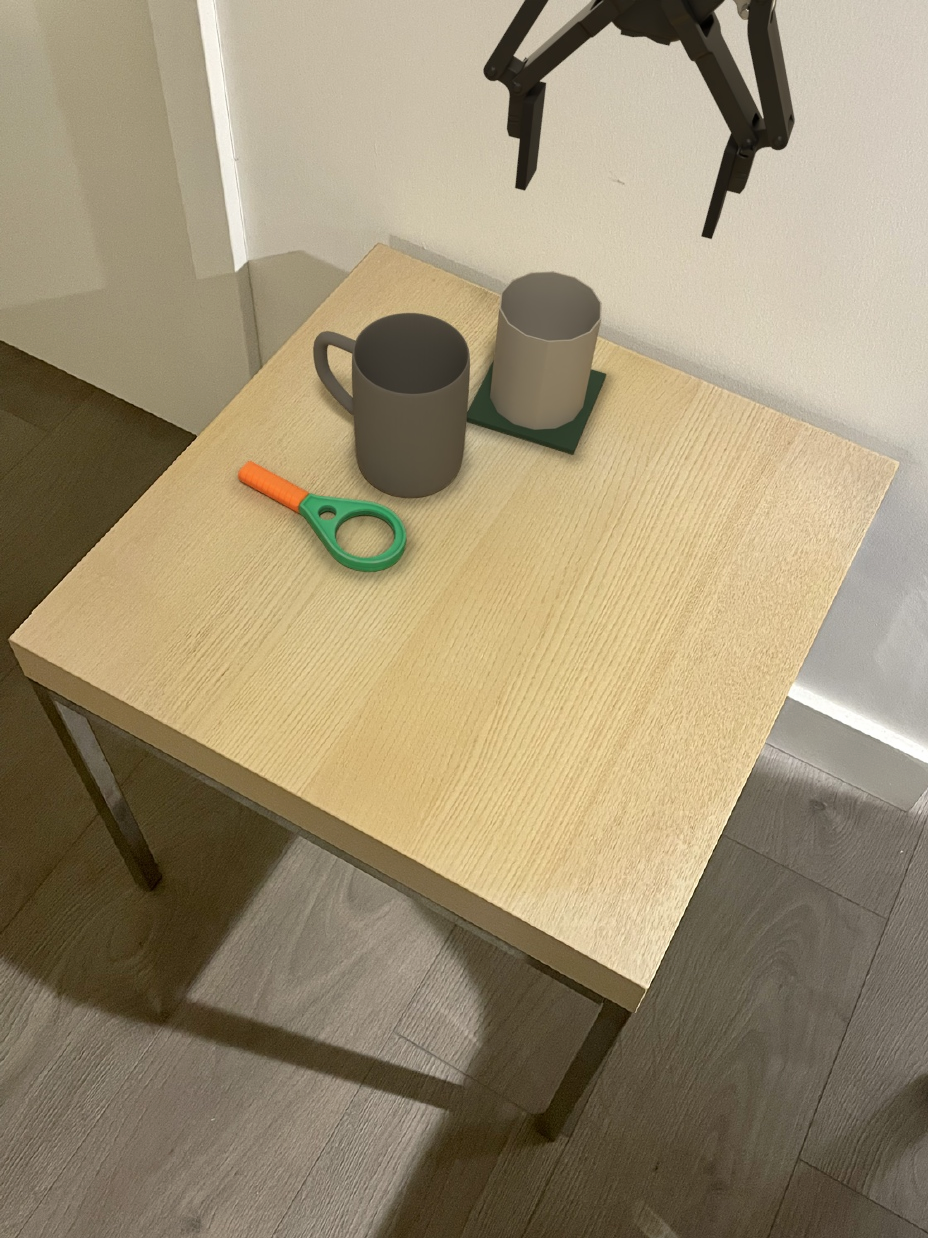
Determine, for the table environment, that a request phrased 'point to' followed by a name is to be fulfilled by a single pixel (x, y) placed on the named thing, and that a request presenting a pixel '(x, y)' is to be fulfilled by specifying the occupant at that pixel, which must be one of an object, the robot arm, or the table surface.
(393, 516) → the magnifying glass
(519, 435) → the coaster mat
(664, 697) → the table surface
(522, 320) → the cup
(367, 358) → the mug
